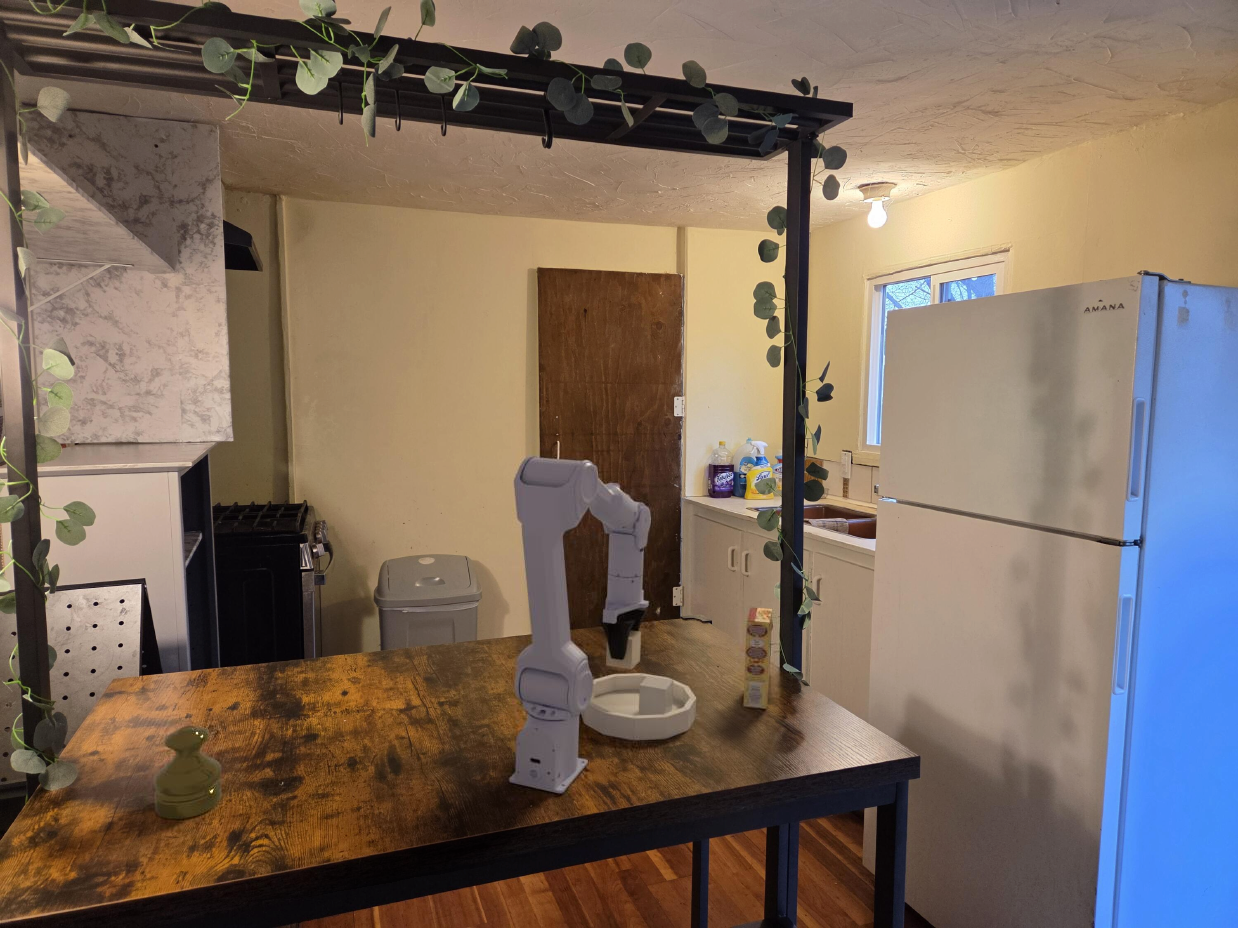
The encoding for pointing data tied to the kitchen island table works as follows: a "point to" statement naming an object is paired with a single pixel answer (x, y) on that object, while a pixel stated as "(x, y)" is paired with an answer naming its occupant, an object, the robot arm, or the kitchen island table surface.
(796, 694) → the kitchen island table surface
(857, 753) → the kitchen island table surface
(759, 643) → the candy box
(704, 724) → the kitchen island table surface
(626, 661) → the cream rectangular block
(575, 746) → the robot arm
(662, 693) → the matte stone cube
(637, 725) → the bowl
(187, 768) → the olive green knobbed piece
